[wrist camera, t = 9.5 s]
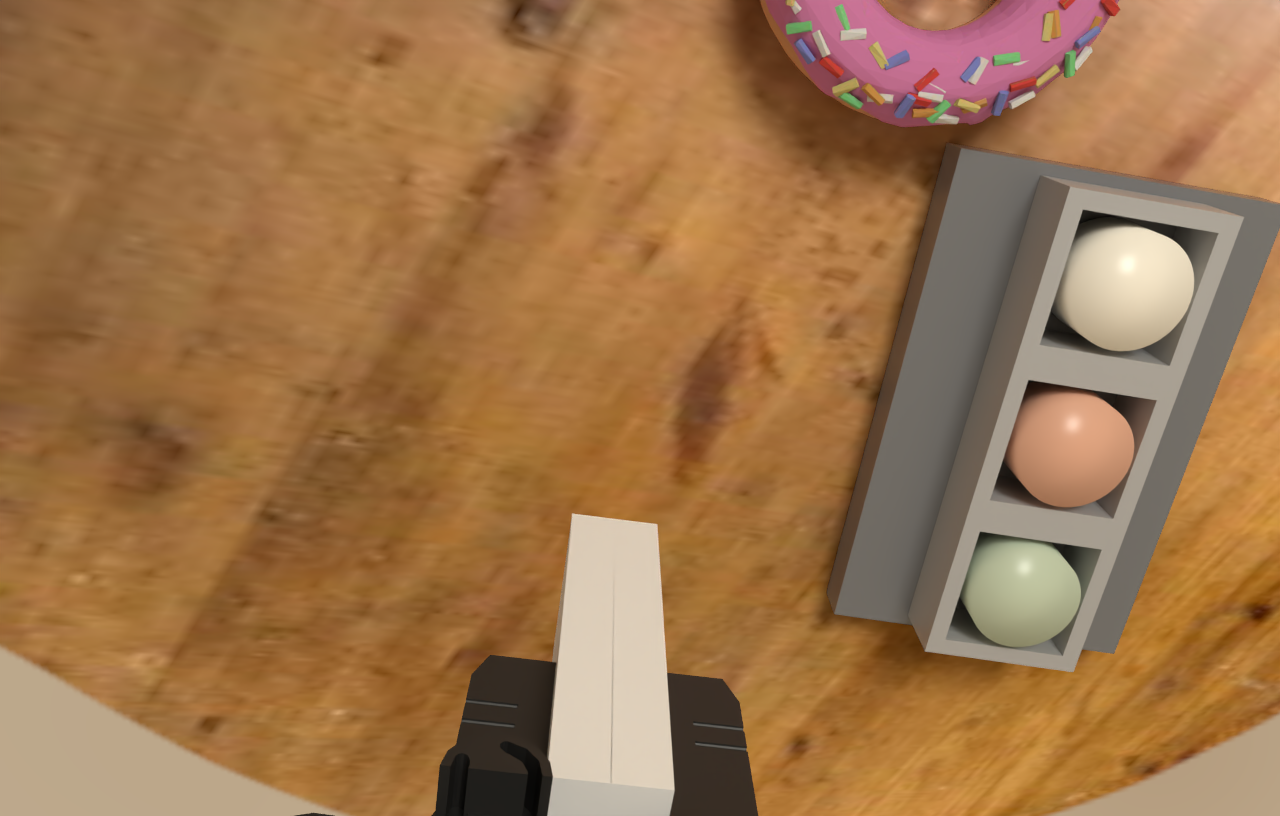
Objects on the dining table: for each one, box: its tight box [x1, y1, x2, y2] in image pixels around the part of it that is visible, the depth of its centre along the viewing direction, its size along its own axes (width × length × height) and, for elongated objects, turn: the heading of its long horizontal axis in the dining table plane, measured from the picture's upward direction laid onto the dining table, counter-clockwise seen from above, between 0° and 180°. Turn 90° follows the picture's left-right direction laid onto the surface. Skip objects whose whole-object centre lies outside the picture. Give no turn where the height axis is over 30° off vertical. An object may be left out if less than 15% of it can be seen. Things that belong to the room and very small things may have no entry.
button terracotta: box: [1003, 381, 1134, 507], centre depth 44 cm, size 5×5×3 cm
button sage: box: [959, 532, 1081, 647], centre depth 47 cm, size 5×5×3 cm
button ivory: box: [1051, 217, 1194, 351], centre depth 42 cm, size 5×5×3 cm
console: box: [827, 143, 1280, 672], centre depth 46 cm, size 22×14×5 cm, turn 170°
